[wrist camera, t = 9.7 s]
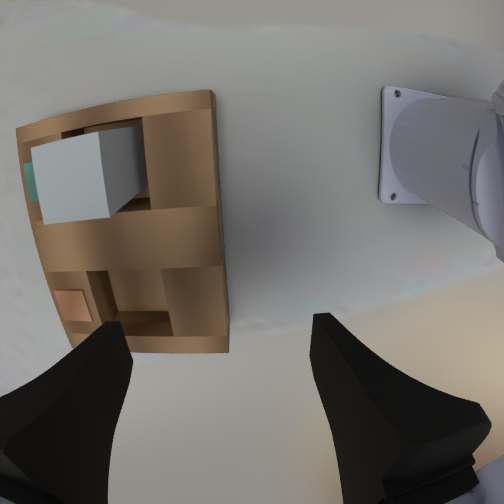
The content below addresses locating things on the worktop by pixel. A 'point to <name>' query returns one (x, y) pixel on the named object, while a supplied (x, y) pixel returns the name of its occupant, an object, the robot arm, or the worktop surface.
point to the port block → (142, 231)
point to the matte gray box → (89, 174)
